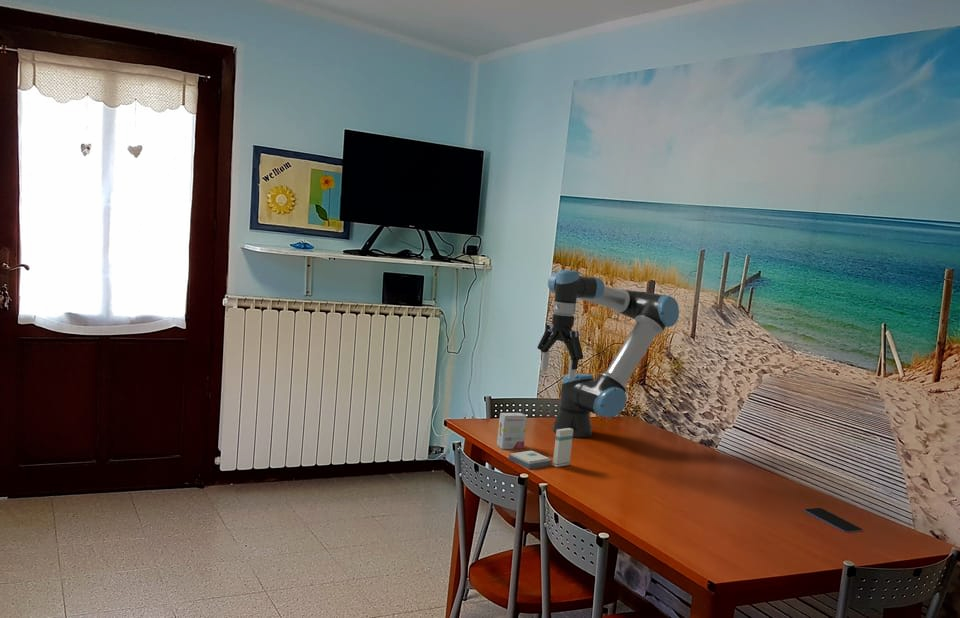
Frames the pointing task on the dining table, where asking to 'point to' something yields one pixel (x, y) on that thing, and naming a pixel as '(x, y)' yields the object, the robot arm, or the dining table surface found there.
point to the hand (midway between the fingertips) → (557, 374)
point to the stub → (562, 447)
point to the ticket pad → (530, 459)
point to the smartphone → (832, 520)
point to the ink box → (511, 430)
